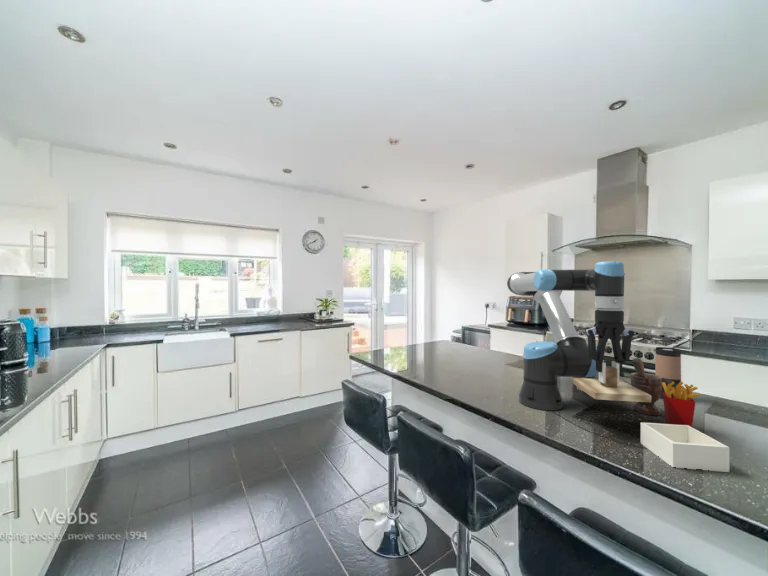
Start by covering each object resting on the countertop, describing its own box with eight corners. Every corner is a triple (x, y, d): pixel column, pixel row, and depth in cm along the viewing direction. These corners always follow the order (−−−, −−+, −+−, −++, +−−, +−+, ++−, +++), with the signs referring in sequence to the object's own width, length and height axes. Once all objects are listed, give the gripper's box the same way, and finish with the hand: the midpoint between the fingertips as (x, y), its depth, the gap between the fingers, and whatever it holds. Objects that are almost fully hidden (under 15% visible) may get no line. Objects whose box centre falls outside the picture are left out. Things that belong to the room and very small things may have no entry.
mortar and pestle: (662, 421, 101) (662, 362, 101) (629, 414, 107) (629, 358, 107) (661, 411, 110) (661, 356, 110) (631, 405, 116) (631, 352, 116)
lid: (595, 399, 92) (595, 372, 92) (572, 383, 107) (573, 360, 107) (651, 402, 89) (651, 375, 89) (620, 385, 104) (620, 362, 104)
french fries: (661, 420, 102) (661, 376, 102) (695, 426, 98) (695, 380, 98) (669, 431, 95) (669, 383, 95) (706, 438, 90) (706, 387, 90)
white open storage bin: (672, 467, 76) (672, 443, 76) (640, 443, 87) (640, 422, 87) (729, 472, 74) (729, 447, 74) (688, 446, 85) (688, 425, 85)
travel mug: (683, 399, 122) (683, 349, 122) (678, 403, 118) (678, 351, 118) (658, 393, 129) (658, 346, 129) (652, 397, 124) (652, 348, 124)
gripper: (587, 310, 95) (586, 384, 96) (645, 310, 93) (645, 387, 93) (576, 308, 103) (575, 377, 103) (629, 309, 100) (629, 379, 100)
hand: (608, 382), depth 98 cm, fingers closed on lid, 3 cm apart
